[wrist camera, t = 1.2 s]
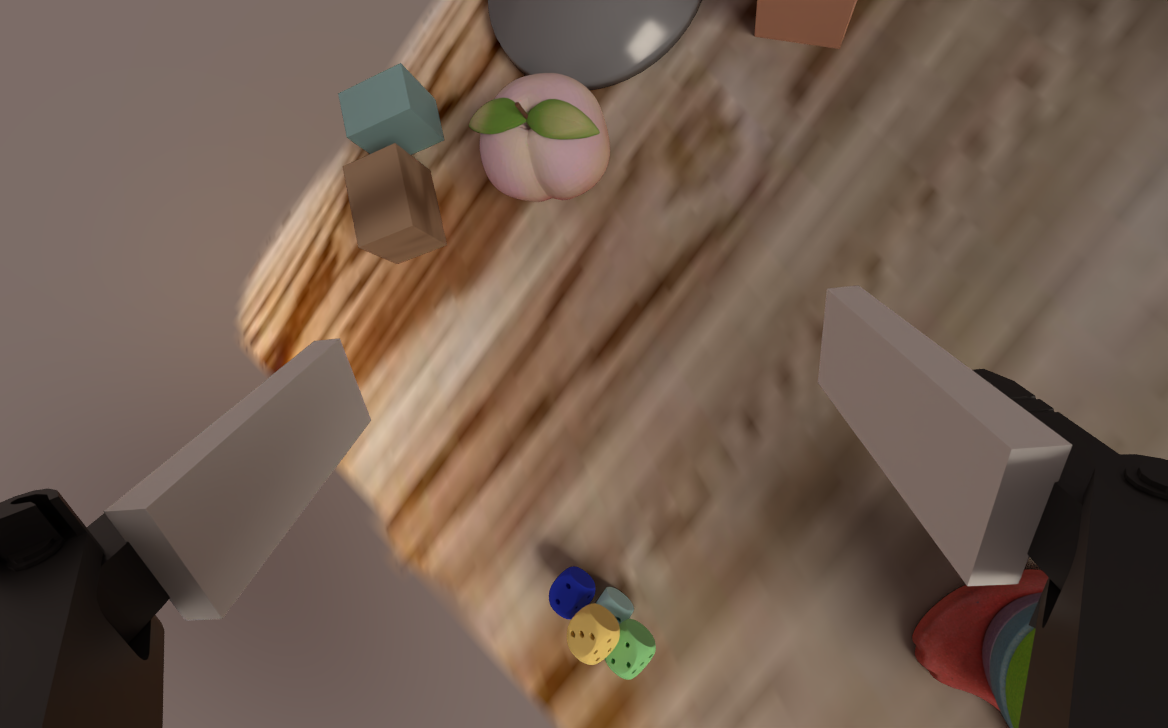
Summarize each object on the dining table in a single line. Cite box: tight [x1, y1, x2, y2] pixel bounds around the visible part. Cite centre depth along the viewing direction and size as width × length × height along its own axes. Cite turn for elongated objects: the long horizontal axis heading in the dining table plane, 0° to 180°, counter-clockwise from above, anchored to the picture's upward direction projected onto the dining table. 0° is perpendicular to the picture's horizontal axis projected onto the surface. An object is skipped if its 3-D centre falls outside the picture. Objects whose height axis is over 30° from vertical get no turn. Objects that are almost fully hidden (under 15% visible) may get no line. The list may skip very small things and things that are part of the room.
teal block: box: [338, 63, 444, 155], centre depth 42 cm, size 6×4×5 cm, turn 105°
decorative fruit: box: [469, 73, 610, 202], centre depth 35 cm, size 9×8×10 cm
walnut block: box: [343, 143, 447, 264], centre depth 42 cm, size 7×5×5 cm
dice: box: [549, 567, 656, 679], centre depth 34 cm, size 8×3×6 cm, turn 56°
